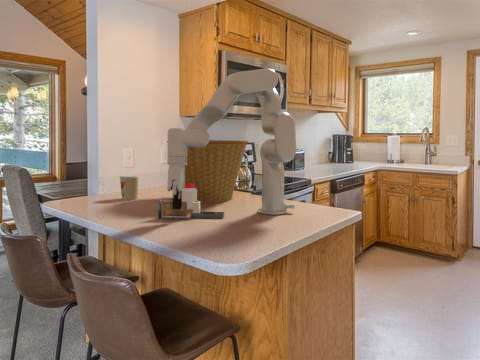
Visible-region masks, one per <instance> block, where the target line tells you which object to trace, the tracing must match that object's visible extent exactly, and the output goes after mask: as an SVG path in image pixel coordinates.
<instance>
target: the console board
mask: <svg viewBox="0 0 480 360" xmlns="http://www.w3.org/2000/svg"><path fill="white" fill-rule="evenodd" d="M224 217H225V211H203V210H202V211H201V210H200V213H193V211H192V212H191V214H190V219H219V220H220V219H221V220H222V219H224Z"/></svg>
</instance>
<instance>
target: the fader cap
mask: <svg viewBox="0 0 480 360" xmlns="http://www.w3.org/2000/svg"><path fill="white" fill-rule="evenodd" d="M200 211H201V203H200V201H194V202H193V209H192V212H193V213H200Z"/></svg>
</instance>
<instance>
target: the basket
mask: <svg viewBox="0 0 480 360" xmlns="http://www.w3.org/2000/svg"><path fill="white" fill-rule="evenodd" d="M166 143H167V144H168V140H166ZM248 143H250V142H249V141H248V140H233V139H232V140H227V139H223V140H221V139H220V140H215V139H214V140H212V139H210V140H209V143H208V144H207V145H206V146H205V147H202V148H194V147H188V155H187V156H188V158H187V165H185V183H193V184H195V188H196V189H197V201H200V204H202V203H203V204H205V203H207V204H208V203H209V204H211V203H213V204H214V203H223V202H229V201H232V200H233V195H234V192H235V187H236V184H237V181H238V176H239V173H240V169H241V165H242V162H243V159H244V154H245V150H246V148H247V144H248Z"/></svg>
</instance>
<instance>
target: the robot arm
mask: <svg viewBox="0 0 480 360" xmlns="http://www.w3.org/2000/svg"><path fill="white" fill-rule="evenodd" d="M278 82H279V76H278V73H277V72H276V71H275V70H274V69H272V68H268V67H267V68H266V67H265V68H260V69H252V70H244V71H238V72H233V73H231V74H229V75H227V76H226V77H225V78H224V79H223V81H222V82H221V83H220V85H219V86H218V88H217V89H216V91H214V93H213V94H212V96H211V98H210V99H209V100H208V102H207V103H206V104H205V105H204V106H203V107H202V108H201V110H199V112H198V113H196V115H195V116H194V117H193V119H192V120H191V121H190V122H189V124H188V125H187V126H186V128H181V127H170V128H169V129H168V130H167V141H168V143H167V145H166V147H167V154H166V155H167V156H166V157H167V161H166V163H167V165H168V171H167V188H166V189H167V192H171V191H172V193H171V194H172V201H173V209H181V208H182V190H183V189H184V188H185V165H187V158H188V156H187V155H188V147H194V148H202V147H205V146H206V145H207V144H208V143H209V140H211V139H210V138H211V137H210V134H209V132H208V130H209V129H210V127H212V125H214V124H215V123H216V122H218V121H220V120H222V119H223V118H225V116H227V114H228V113H229V111H230V110H231V108H232V107H233V105H234V104H235V103H236V102H237V100H238V99H239V97H240V96H241V95H247V94H254V95H255V96H256V97H257V98H258V101H259V104H260V115H261V127H262V132H263V133H264V134H266V135H268V136H271V137H272V136H273V137H274V138H269V139H266V140H265V141H264V142H263V143H262V144H261V146H260V150H259V151H260V153H259V155H260V160H261V207H259V208H258V209H257V212H258V213H259V214H262V215H263V214H264V215H269V216H270V215H272V216H273V215H277V216H278V215H284V214H287V213H288V209H295V203H286V202H285V167H284V166H285V165H284V163H289V162H291V161H292V160H293V159H294V158H295V156H296V151H297V141H296V140H297V139H296V124H295V123H296V122H295V120H294V118H293V116H292V115H291V114H290V113H288V112H285V111H282V102H281V97H280V94H279V92H278V91H277V89H276V87H277V85H278Z"/></svg>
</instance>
